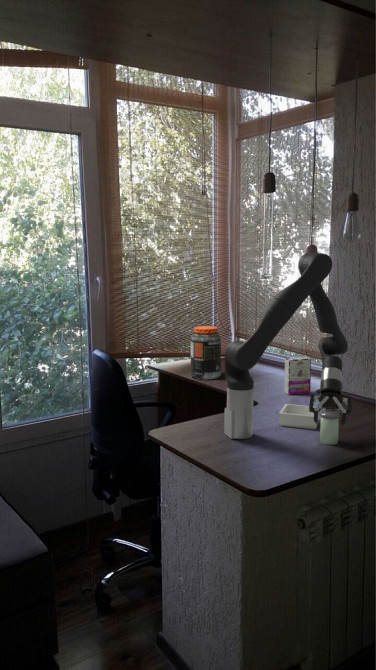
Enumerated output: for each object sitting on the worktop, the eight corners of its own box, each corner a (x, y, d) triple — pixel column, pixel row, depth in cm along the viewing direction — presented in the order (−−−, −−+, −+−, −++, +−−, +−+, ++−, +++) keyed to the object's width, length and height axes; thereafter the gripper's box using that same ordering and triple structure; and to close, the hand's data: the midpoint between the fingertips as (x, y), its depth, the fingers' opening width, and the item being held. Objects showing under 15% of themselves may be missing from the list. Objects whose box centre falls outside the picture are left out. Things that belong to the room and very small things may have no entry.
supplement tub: (221, 373, 291) (222, 325, 288) (220, 380, 276) (220, 329, 272) (191, 373, 293) (192, 325, 289) (188, 379, 278) (188, 329, 274)
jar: (326, 445, 183) (327, 416, 182) (315, 439, 189) (316, 411, 188) (342, 443, 185) (343, 414, 184) (331, 437, 191) (332, 409, 190)
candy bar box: (305, 391, 256) (306, 356, 253) (310, 393, 251) (311, 358, 249) (283, 392, 253) (284, 357, 250) (288, 395, 248) (289, 359, 246)
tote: (315, 429, 200) (316, 416, 199) (278, 425, 204) (278, 413, 204) (320, 419, 212) (320, 407, 212) (285, 415, 217) (285, 403, 216)
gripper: (310, 376, 194) (308, 416, 185) (352, 378, 191) (351, 420, 181) (311, 387, 200) (308, 427, 191) (351, 389, 197) (350, 430, 187)
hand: (329, 423), depth 186 cm, fingers open, 8 cm apart
